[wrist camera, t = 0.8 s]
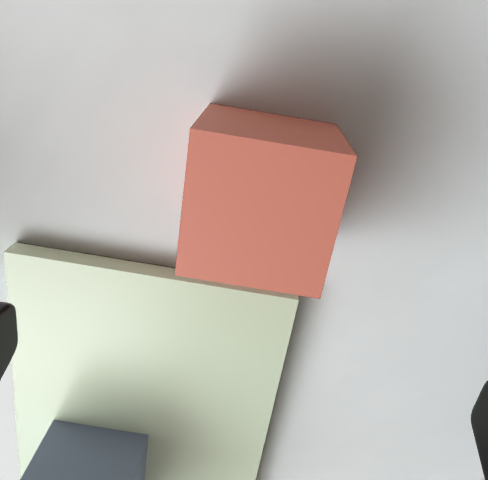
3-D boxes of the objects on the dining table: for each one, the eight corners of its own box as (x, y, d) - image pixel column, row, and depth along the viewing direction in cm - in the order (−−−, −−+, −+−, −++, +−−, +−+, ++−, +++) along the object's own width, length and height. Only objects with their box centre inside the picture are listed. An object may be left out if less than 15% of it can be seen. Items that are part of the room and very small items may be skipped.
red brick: (336, 124, 18) (357, 156, 14) (309, 238, 20) (320, 299, 16) (210, 103, 18) (190, 128, 14) (196, 219, 20) (174, 275, 16)
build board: (298, 288, 21) (299, 300, 20) (244, 514, 28) (243, 531, 27) (15, 242, 21) (3, 251, 20) (29, 481, 28) (21, 496, 27)
